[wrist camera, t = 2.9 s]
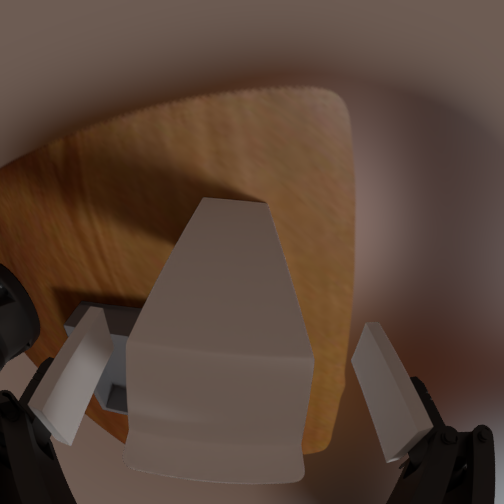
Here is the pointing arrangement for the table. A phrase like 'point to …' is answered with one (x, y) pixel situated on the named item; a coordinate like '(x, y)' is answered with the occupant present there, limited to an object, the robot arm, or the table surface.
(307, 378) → the milk
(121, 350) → the bin
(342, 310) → the table surface
